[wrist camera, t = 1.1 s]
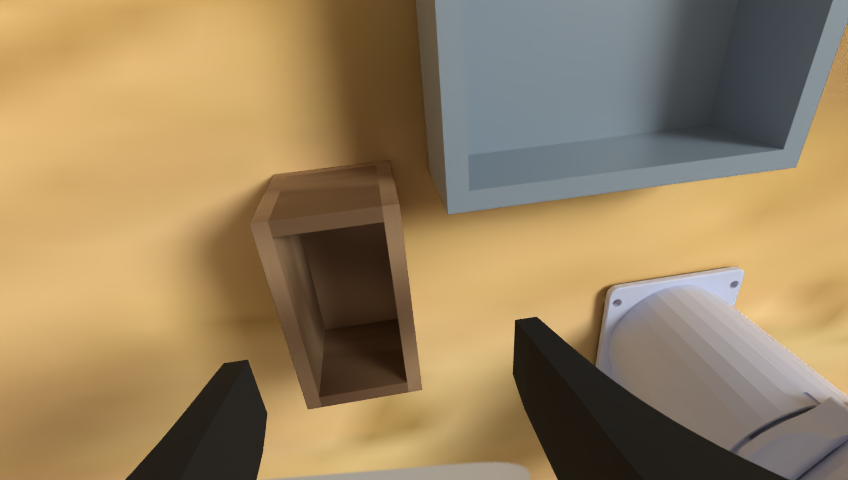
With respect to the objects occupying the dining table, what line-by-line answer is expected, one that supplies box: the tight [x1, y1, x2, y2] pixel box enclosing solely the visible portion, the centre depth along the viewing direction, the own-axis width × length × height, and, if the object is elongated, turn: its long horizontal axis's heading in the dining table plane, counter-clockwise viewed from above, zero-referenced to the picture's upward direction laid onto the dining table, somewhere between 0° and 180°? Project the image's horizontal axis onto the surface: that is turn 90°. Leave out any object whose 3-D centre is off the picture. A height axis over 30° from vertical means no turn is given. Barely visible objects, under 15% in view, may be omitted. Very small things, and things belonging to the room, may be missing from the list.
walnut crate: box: [249, 160, 422, 409], centre depth 19 cm, size 9×5×5 cm, turn 5°
